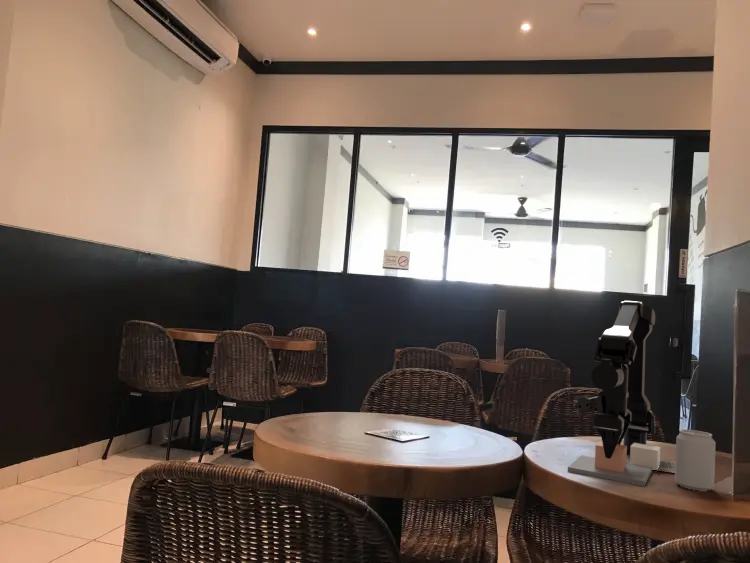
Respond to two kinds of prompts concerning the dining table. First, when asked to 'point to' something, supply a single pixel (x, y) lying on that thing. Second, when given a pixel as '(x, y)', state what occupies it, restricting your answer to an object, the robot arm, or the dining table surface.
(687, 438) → the can
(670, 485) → the dining table surface
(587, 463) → the baseplate
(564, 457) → the dining table surface
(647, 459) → the brick cream
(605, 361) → the robot arm
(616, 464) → the brick terracotta
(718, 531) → the dining table surface
